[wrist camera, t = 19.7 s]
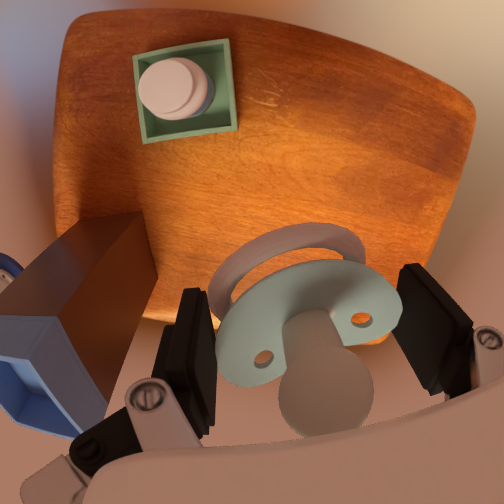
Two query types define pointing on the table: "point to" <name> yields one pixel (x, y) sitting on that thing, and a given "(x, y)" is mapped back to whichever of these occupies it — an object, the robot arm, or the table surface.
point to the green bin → (222, 108)
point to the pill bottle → (176, 89)
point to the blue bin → (73, 324)
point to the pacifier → (304, 325)
